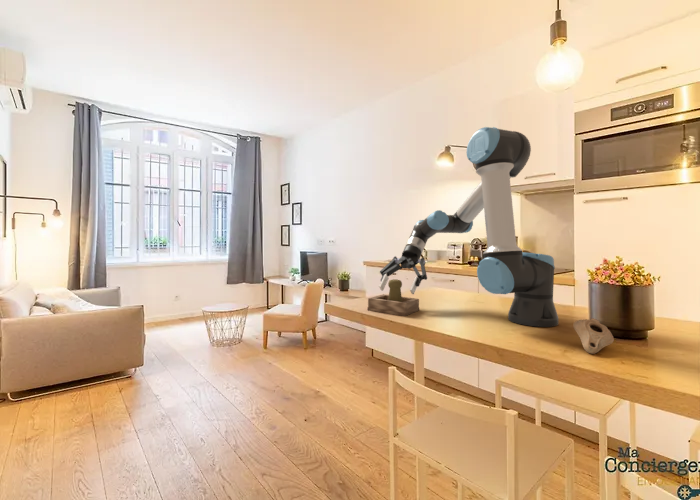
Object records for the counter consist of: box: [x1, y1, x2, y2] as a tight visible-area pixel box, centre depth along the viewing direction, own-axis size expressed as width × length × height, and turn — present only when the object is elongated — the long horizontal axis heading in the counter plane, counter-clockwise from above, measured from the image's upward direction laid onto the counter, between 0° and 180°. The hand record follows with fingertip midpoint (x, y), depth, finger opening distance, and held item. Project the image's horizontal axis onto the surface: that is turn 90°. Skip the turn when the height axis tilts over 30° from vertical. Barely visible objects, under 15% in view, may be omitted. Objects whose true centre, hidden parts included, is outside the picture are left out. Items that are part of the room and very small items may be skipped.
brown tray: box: [367, 293, 420, 317], centre depth 135 cm, size 16×12×4 cm
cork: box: [387, 278, 403, 302], centre depth 134 cm, size 6×6×11 cm
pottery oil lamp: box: [572, 318, 615, 355], centre depth 91 cm, size 9×12×7 cm
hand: (395, 290), depth 137 cm, fingers open, 13 cm apart
